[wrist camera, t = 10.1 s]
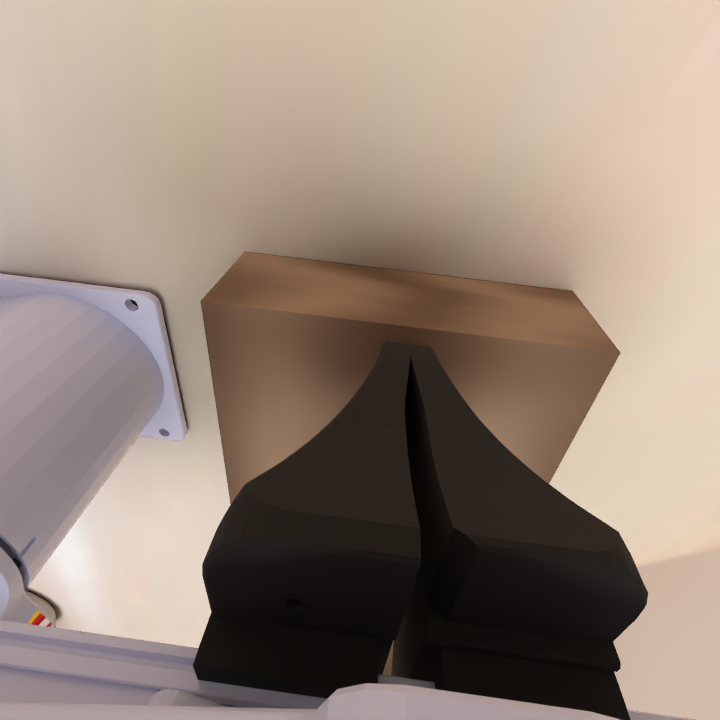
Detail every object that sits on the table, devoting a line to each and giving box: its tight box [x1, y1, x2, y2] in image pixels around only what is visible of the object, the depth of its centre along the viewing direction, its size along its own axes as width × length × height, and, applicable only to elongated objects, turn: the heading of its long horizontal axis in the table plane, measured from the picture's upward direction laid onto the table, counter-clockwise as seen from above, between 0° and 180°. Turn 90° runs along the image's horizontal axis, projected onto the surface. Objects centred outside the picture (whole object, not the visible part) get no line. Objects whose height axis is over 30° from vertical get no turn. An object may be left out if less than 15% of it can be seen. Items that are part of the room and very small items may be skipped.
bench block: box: [201, 252, 620, 504], centre depth 17 cm, size 12×12×4 cm
